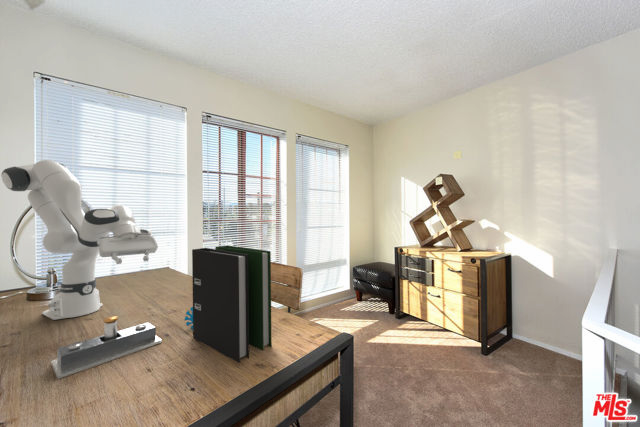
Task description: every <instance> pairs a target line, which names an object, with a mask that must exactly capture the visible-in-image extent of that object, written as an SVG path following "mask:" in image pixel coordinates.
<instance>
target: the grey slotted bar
mask: <svg viewBox="0 0 640 427" xmlns="http://www.w3.org/2000/svg"><path fill="white" fill-rule="evenodd" d="M156 328H157V327H156V326H154V325H153V323H150V322H144V323H141V324H137V325H134V326H130V327H127V328H123V329H120V330H117V338H115V339H112V340H109V341H105V342H104V338H105V334H102V335H99V336H96V337H92V338H89V339H85V340H82V341H78V342H76V343H71V344H68V345H65V346H61V347H57V349H56V350H57V351H56V354H57V355H56V358H55V359H52V360H51V367H52V369H53V371H54V374H55V376H56V379H57V380H59V379H62V378H65V377H69V376H71V375H73V374H77V373H79V372H82V371H86V370H88V369H90V368H94V367H96V366H99V365H102V364H105V363H108V362H111V361H114V360H115V359H116V360H117V359H118V358H121V357H124V356H128V355H131V354H133V353H136V352H139V351H142V350H144V349H147V348H151V347H152V346H153V347H154V346H155V345H158V344H162V343H163V341H162V338H160V337H159V336H157V330H156Z"/></svg>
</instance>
